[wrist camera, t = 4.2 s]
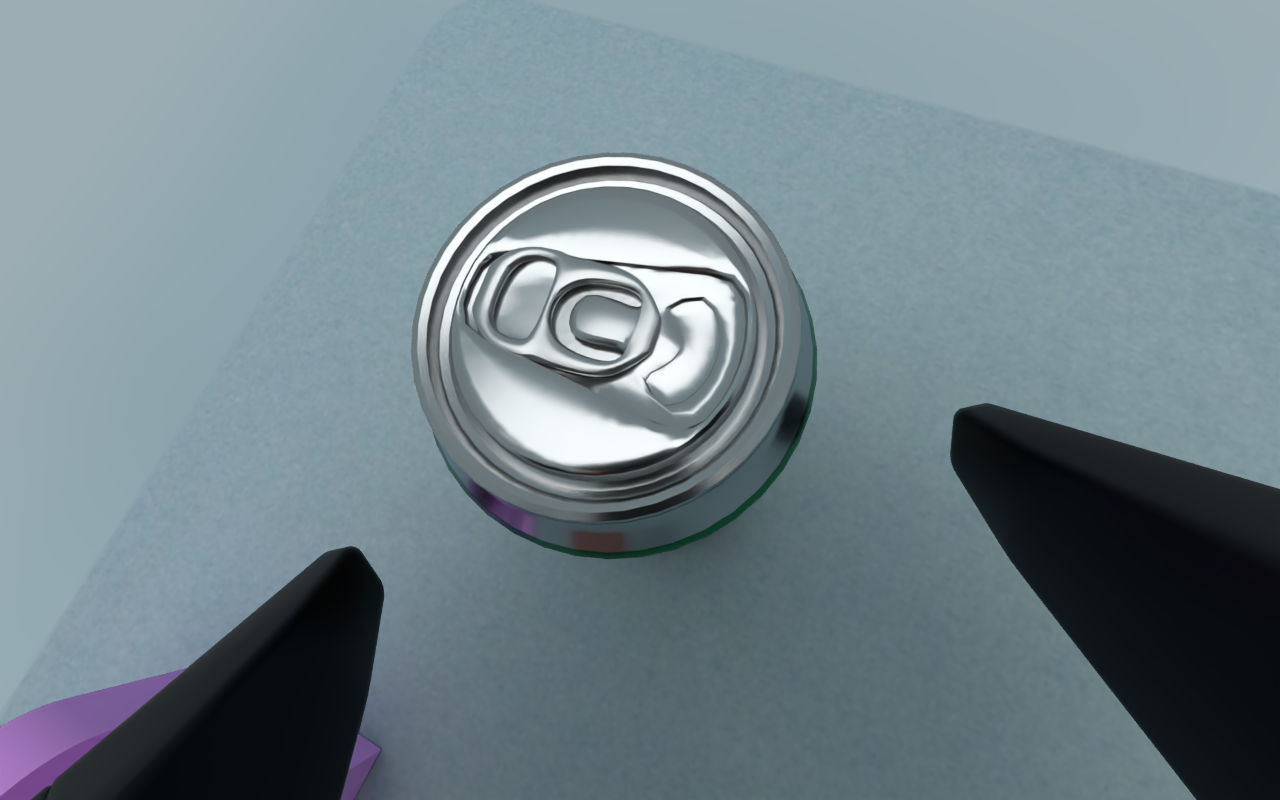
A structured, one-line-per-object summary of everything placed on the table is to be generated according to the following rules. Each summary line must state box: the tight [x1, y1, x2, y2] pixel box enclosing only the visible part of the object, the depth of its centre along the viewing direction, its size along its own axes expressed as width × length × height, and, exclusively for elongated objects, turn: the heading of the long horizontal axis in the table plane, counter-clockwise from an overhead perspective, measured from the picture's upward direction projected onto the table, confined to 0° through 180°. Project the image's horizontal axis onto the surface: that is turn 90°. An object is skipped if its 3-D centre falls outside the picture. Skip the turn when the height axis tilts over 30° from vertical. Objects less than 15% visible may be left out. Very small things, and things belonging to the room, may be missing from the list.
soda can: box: [411, 153, 817, 559], centre depth 12 cm, size 5×5×12 cm
